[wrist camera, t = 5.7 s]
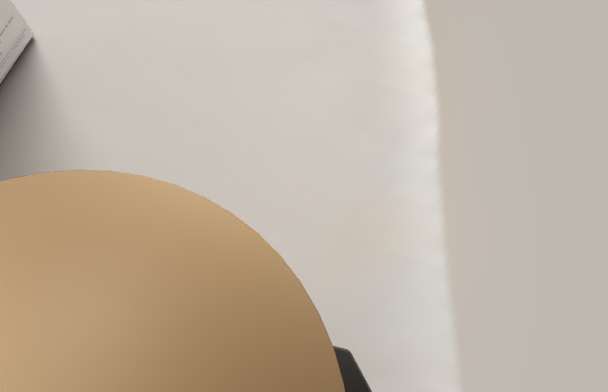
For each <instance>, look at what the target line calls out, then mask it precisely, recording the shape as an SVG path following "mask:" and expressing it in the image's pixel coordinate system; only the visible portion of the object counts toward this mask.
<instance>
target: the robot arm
mask: <svg viewBox="0 0 608 392" xmlns="http://www.w3.org/2000/svg"><path fill="white" fill-rule="evenodd" d="M333 348H334V351H335V355H336V358H337V362H338V365H339V369H340V372H341V376H342V379H343V383H344V388H345V392H372V391H371V389H370V387H369V385H368V383H367V382H366V380H365V378H364V376H363V374H362V372H361V370H360V369H359V367H358V365H357V363H356V361H355V359H354V357H353V355H352V354H351V352H350V351H349V350H347V349H344V348H340V347H336V346H333Z"/></svg>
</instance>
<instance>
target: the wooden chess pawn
mask: <svg viewBox="0 0 608 392" xmlns="http://www.w3.org/2000/svg"><path fill="white" fill-rule="evenodd" d="M0 392H345V388H344V383H343V379H342V376H341V372H340V369H339V365H338V362H337V358H336V355H335V351H334V348H333V345H332V343H331V341H330V338H329V336H328V333H327V331H326V329H325V326H324V324H323V322H322V319H321V317H320V314H319V312H318V311H317V309H316V307H315V306H314V304H313V302H312V300H311V299H310V297H309V295H308V294H307V292H306V290H305V288H304V287H303V285H302V283H301V282H300V281H299V279H298V278H297V277H296V275H295V274H294V273H293V271H292V270H291V269H290V267H289V266H288V265H287V264H286V262H285V261H284V260H283V258H282V257H281V256H280V255H279V254H278V253H277V252H276V251H275V250H274V249H273V248H272V247H271V246H270V245H269V244H268V243H267V242H266V241H265V240H264V239H263V238H262V237H261V236H260V235H259V234H258V233H257V232H256V231H255V230H253V229H252V228H251V227H249V226H248V225H247V224H245V223H244V222H243V221H241V220H240V219H239V218H238V217H236V216H235V215H234V214H232V213H231V212H229V211H227V210H226V209H224V208H222V207H220V206H219V205H217V204H215V203H214V202H212V201H210V200H208V199H207V198H205V197H203V196H200V195H198V194H196V193H193V192H191V191H188V190H186V189H184V188H181V187H179V186H176V185H174V184H170V183H167V182H163V181H160V180H156V179H152V178H149V177H145V176H140V175H134V174H127V173H120V172H113V171H93V170H70V171H58V172H47V173H38V174H33V175H28V176H23V177H18V178H13V179H8V180H4V181H0Z"/></svg>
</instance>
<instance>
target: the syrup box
mask: <svg viewBox="0 0 608 392" xmlns="http://www.w3.org/2000/svg"><path fill="white" fill-rule="evenodd" d="M32 37H33V32H32V30H31V29H30V27H29V26H28V24H27V23H26V21H25V20H24V19H23V17H22V15H21V14H20V13H19V11H18V10H17V8H16V7H15V6H14V4H13V3H12V1H11V0H0V83H1V82H2V81H3V79H4V78H5V76H6V75H7V73H8V72H9V70H10V69H11V68H12V66H13V65H14V63H15V62H16V60H17V59H18V57H19V56H20V54H21V53H22V51H23V50H24V48H25V47H26V45H27V44H28V42H29V41H30V40H31V38H32Z"/></svg>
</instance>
